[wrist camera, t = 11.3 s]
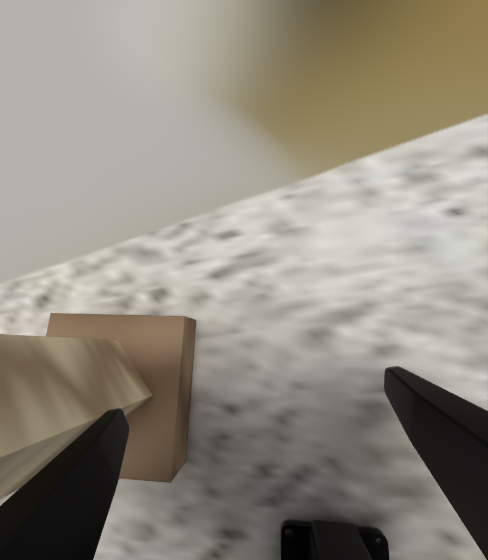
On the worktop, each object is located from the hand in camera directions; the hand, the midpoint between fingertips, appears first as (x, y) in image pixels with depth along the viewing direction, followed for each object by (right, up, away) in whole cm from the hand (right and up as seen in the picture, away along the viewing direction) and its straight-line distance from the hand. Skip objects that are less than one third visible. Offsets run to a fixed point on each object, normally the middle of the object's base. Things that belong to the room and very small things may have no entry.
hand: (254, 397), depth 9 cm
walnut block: (-9, -4, +12) cm, 16 cm away
